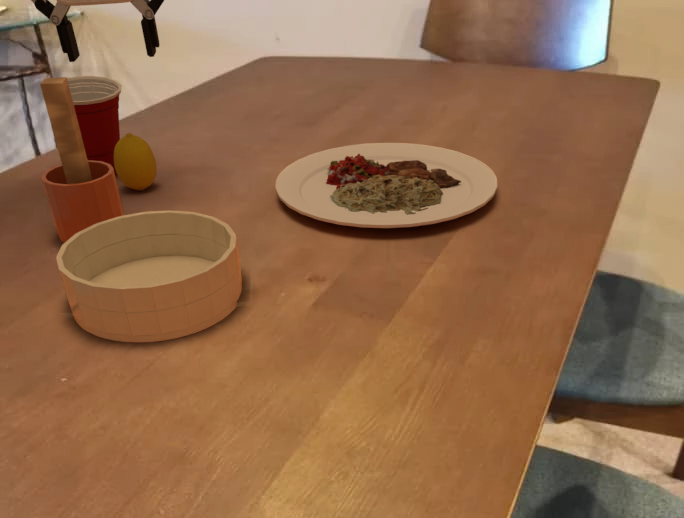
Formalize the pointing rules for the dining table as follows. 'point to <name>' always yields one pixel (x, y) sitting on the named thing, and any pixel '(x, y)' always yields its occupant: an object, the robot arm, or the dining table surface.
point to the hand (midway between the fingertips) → (113, 56)
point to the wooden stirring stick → (66, 129)
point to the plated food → (386, 185)
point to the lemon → (134, 162)
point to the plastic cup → (97, 115)
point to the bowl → (151, 275)
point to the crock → (82, 198)
